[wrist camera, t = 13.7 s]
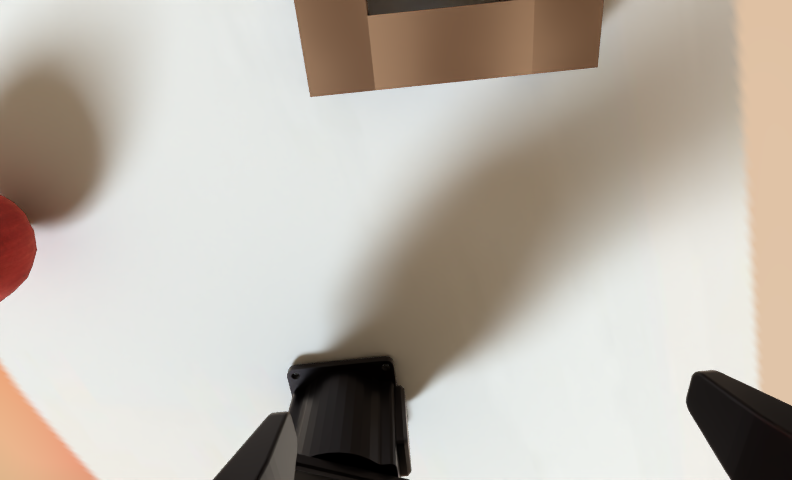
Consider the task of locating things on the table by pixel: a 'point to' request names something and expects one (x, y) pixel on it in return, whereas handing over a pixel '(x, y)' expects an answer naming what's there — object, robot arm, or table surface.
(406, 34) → the block
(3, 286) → the onion
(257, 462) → the robot arm
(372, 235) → the table surface
